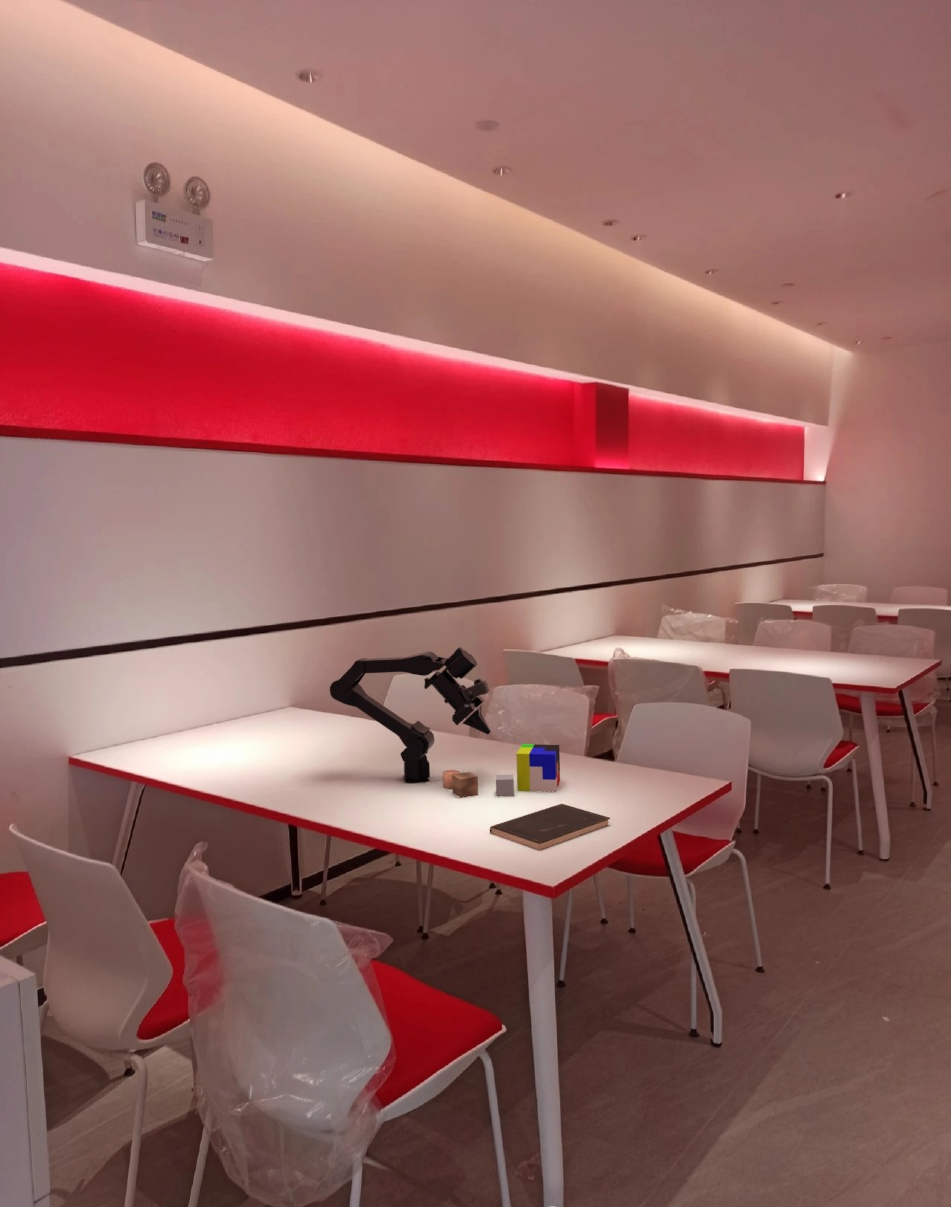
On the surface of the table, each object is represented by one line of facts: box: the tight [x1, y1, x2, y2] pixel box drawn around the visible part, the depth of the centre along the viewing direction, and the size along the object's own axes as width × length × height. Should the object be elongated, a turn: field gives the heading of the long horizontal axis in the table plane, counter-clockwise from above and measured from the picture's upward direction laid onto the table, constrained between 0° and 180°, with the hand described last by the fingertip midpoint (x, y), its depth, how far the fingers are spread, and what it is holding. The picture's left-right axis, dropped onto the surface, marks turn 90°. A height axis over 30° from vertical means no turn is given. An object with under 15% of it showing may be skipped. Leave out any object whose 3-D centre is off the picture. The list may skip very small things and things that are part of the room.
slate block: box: [495, 774, 515, 797], centre depth 244 cm, size 4×4×4 cm
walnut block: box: [451, 771, 479, 799], centre depth 244 cm, size 5×5×5 cm
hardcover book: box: [489, 803, 611, 850], centre depth 216 cm, size 16×23×2 cm
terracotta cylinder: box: [442, 769, 460, 790], centre depth 251 cm, size 4×4×4 cm
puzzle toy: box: [516, 743, 561, 793], centre depth 249 cm, size 10×10×10 cm
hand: (489, 733), depth 253 cm, fingers closed
